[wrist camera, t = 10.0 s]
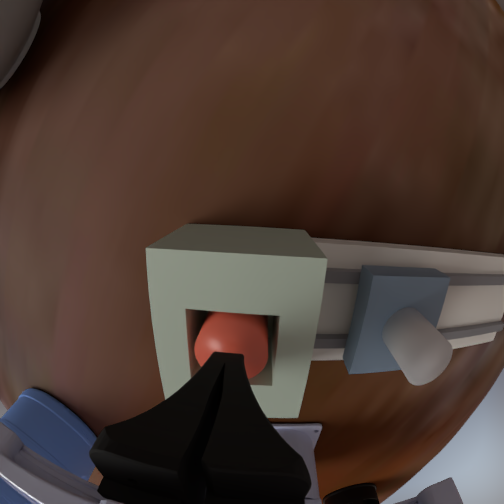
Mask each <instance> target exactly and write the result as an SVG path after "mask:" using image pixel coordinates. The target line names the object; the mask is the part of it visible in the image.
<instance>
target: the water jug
mask: <svg viewBox="0 0 504 504" xmlns="http://www.w3.org/2000/svg"><path fill="white" fill-rule="evenodd" d="M0 422H2V423H3V424H4V425H5V426H7V427H8V428H9V429H11V430H12V431H13V432H14V433H15V434H16V435H17V436H18V437H19V438H20V439H21V441H22V442H23V444H24V445H25V446H27V447H28V448H30V449H31V450H33V451H34V452H36V453H37V454H39V455H40V456H42V457H44V458H45V459H47V460H49V461H50V462H52V463H54V464H55V465H57V466H59V467H61V468H63V469H64V470H66V471H68V472H70V473H72V474H74V475H76V476H78V477H80V478H82V479H84V480H86V481H88V480H89V478H90V476H91V474H92V472H93V470H94V468H95V465H94V463H93V462H92V460H91V458H90V456H89V451H90V449H91V448H92V446H93V444H94V442H95V441H96V439H97V437H96V436H95V434H94V433H93V432H92V431H91V430H90V428H89V427H88V426H87V425H86V424H85V423H84V422H83V421H82V420H81V419H80V418H79V417H78V416H77V415H75V414H74V413H73V412H72V411H71V410H70V409H68V408H67V407H66V406H65V405H63V404H62V403H61V402H59V401H58V400H56V399H55V398H53V397H52V396H50V395H49V394H47V393H45V392H43V391H40V390H38V389H33V388H30V389H26V390H25V391H24V392H23V393H22V394H21V395H20V396H19V399H18V400H17V401H16V402H15V403H14V404H13V405H12V406H11V407H10V409H9V410H8V411H7V412H6V413H5V414H4V415H3V417H2V418H0ZM0 504H33V503H32V502H30V501H29V500H27V499H26V498H25V497H24V496H22V495H21V494H20V493H18V492H17V491H16V490H15V489H13V488H12V487H11V486H10V485H9V484H7V483H6V482H5V481H4V480H3V479H2V478H1V477H0Z"/></svg>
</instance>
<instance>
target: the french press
mask: <svg viewBox="0 0 504 504" xmlns="http://www.w3.org/2000/svg"><path fill="white" fill-rule="evenodd" d="M376 489H377V488H376V485H375V484H373V483H363V484H357V485H352V486H348V487H345V488H342V489H339V490H336V491H334V492H332V493H330V494H328V495H326V496H325V497H324V498H323V503H324V504H379V501H378V496H377V493H376Z"/></svg>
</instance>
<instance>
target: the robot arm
mask: <svg viewBox="0 0 504 504" xmlns="http://www.w3.org/2000/svg"><path fill="white" fill-rule="evenodd" d="M321 430H322V425H321V424H320V423H313V424H271V423H270V421H269V420H268V418H267V417H266V415H265V414H264V412H263V411H262V409H261V407H260V405H259V403H258V402H257V400H256V397H255V395H254V393H253V391H252V388H251V386H250V383H249V380H248V377H247V374H246V369H245V364H244V355H243V354H238V353H226V352H216V351H214V352H213V353H212V354H211V356H210V357H209V358H208V360H207V361H206V362H205V363H204V364H203V366H202V367H201V368H200V369H199V370H198V371H197V372H196V373H195V375H194V376H193V377H192V378H191V379H190V380H189V381H188V382H186V383H185V384H184V385H183V386H182V387H181V388H180V389H179V390H178V391H176V392H175V393H174V394H173V395H171V396H170V397H169V398H167V399H166V400H164V401H163V402H161V403H160V404H158V405H157V406H155V407H153V408H152V409H150V410H148V411H146V412H144V413H142V414H140V415H138V416H136V417H133V418H131V419H128V420H126V421H123V422H120V423H117V424H113V425H110V426H106V427H105V428H104V429H103V430H102V432H101V433H100V434H99V436H98V437H97V439H96V441H95V442H94V444H93V446H92V448H91V449H90V451H89V456H90V458H91V460H92V462H93V463H94V465H95V466H96V467H97V469H98V470H99V471H100V473H101V474H102V475H103V479H102V481H101V483H100V485H99V486H97V485H95V484H93V483H91V482H89V481H86V480H84V479H82V478H80V477H78V476H76V475H74V474H72V473H70V472H68V471H66V470H64V469H63V468H61V467H59V466H57V465H55V464H54V463H52V462H50V461H49V460H47V459H45V458H44V457H42V456H40V455H39V454H37V453H36V452H34V451H33V450H31V449H30V448H28V447H27V446H25V445H24V444H23V442H22V441H21V439H20V438H19V437H18V436H17V435H16V434H15V433H14V432H13V431H12V430H11V429H9V428H8V427H7V426H5V425H4V424H3V423H2V422H0V477H1V478H2V479H3V480H4V481H5V482H6V483H7V484H9V485H10V486H11V487H12V488H13V489H15V490H16V491H17V492H18V493H20V494H21V495H22V496H24V497H25V498H26V499H27V500H29V501H30V502H32V503H33V504H322V502H321V499H320V497H319V489H318V481H317V473H316V465H315V457H314V448H315V445H316V443H317V440H318V438H319V435H320V432H321ZM395 504H463V502H462V499H461V497H460V495H459V492H458V490H457V488H456V486H455V484H454V481H453V480H452V478H448V479H446V480H443V481H441V482H438V483H436V484H433V485H431V486H429V487H427V488H425V489H424V490H423V491H421V492H420V493H419V494H418V495H417V496H416V497H414V498H411V499H408V500H405V501H402V502H398V503H395Z"/></svg>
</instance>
